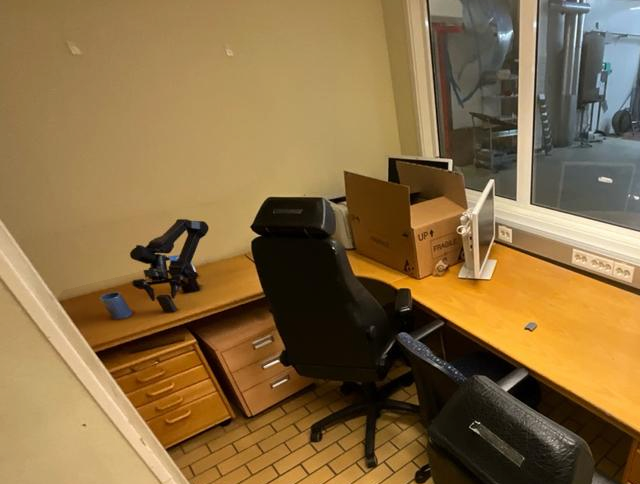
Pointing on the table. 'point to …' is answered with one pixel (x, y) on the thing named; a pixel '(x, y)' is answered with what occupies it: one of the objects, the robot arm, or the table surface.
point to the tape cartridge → (177, 259)
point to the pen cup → (116, 305)
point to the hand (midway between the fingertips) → (163, 299)
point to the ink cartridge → (166, 303)
